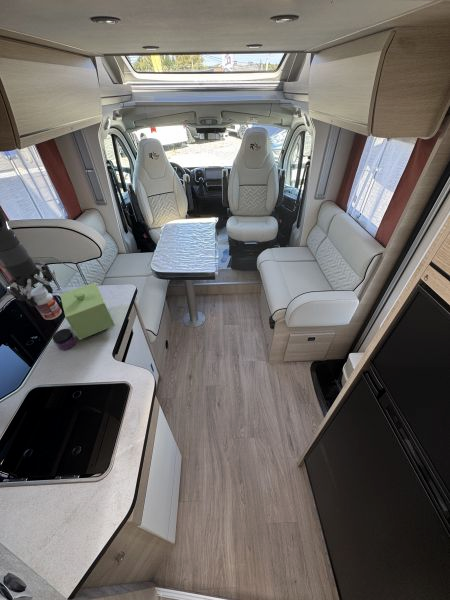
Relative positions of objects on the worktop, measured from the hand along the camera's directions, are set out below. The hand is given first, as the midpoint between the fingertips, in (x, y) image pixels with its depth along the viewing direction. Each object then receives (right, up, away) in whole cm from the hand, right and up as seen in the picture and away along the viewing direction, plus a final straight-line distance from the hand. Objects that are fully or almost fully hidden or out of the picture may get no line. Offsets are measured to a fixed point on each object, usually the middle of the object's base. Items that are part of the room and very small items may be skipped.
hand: (42, 299), depth 89 cm
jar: (-9, -21, +29) cm, 37 cm away
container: (-1, -13, +38) cm, 40 cm away
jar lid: (-9, -17, +26) cm, 32 cm away
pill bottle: (0, -6, +5) cm, 8 cm away
